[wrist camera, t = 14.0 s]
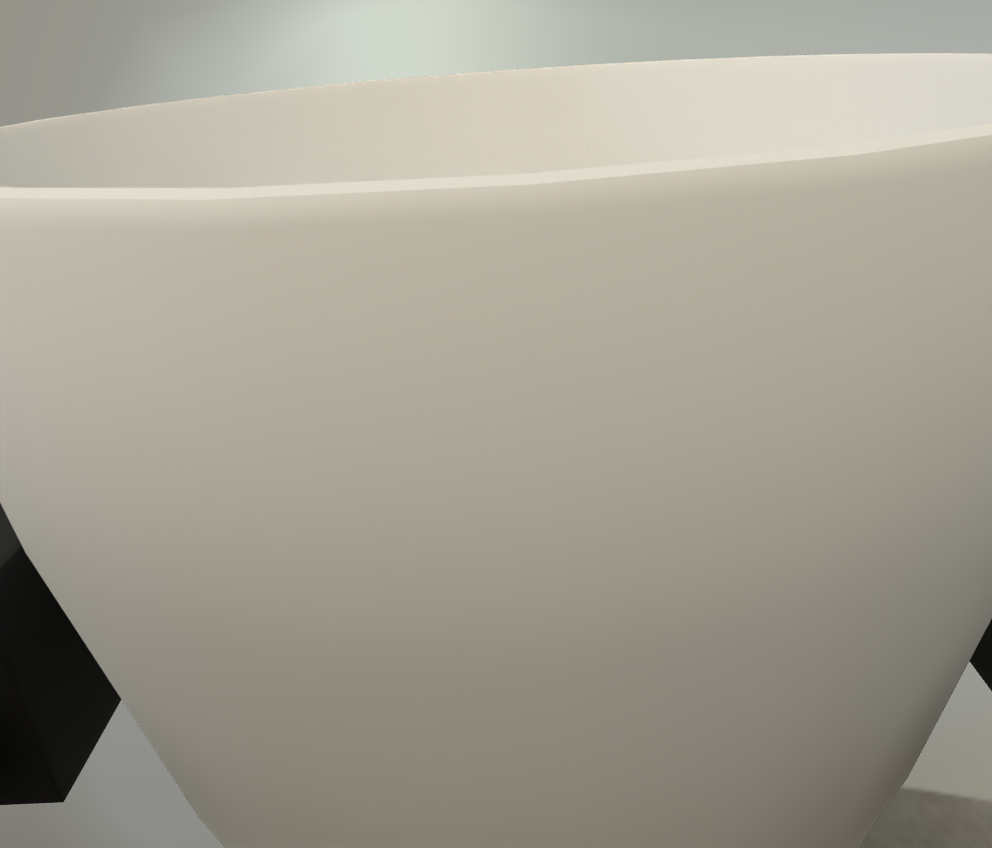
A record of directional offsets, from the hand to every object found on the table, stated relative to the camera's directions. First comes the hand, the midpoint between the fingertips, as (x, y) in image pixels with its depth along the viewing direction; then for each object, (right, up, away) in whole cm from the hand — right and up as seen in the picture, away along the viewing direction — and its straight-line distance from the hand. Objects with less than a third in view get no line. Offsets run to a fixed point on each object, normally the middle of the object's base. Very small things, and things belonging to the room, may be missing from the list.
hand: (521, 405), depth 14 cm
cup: (+1, -10, 0) cm, 10 cm away
